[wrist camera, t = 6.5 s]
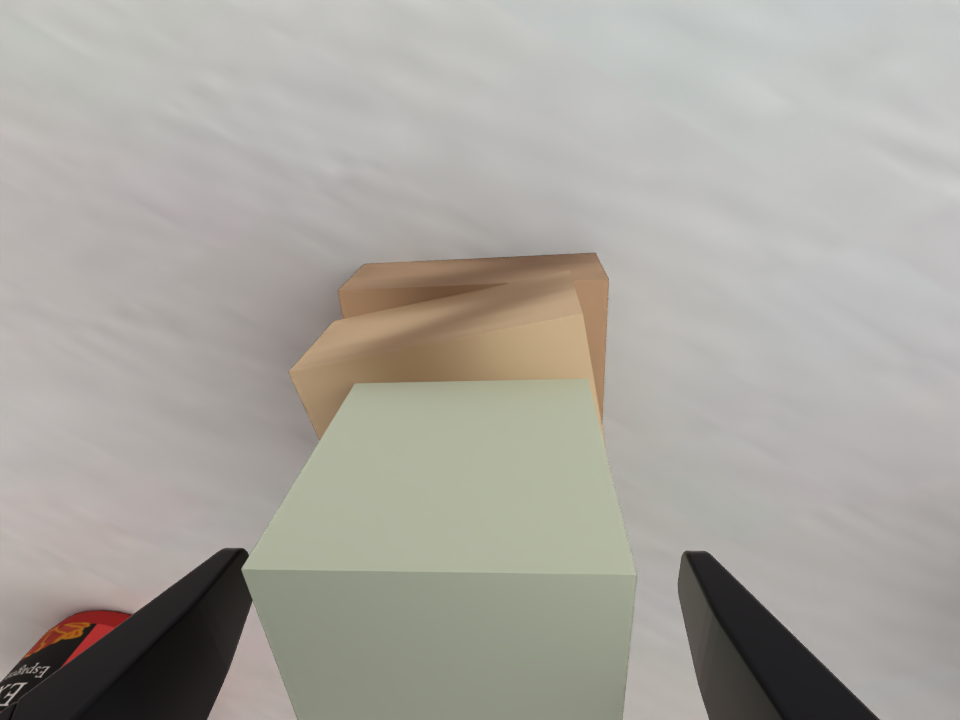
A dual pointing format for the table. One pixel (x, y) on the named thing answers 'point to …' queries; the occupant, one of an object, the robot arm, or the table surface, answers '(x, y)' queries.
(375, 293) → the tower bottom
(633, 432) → the table surface
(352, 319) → the tower top
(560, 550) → the cube
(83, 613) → the canned food
